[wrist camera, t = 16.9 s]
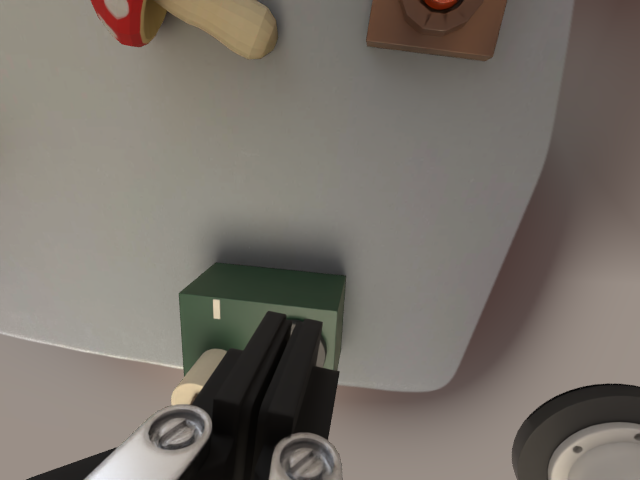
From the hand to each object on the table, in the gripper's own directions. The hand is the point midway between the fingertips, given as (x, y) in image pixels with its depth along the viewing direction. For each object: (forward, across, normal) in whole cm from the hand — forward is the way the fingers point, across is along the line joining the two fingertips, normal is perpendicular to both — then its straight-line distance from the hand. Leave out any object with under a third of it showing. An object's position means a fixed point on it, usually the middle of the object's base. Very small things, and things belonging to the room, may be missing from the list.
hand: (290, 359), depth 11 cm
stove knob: (+19, +9, +16) cm, 27 cm away
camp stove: (+27, +6, +13) cm, 31 cm away
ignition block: (+27, -4, -17) cm, 32 cm away
